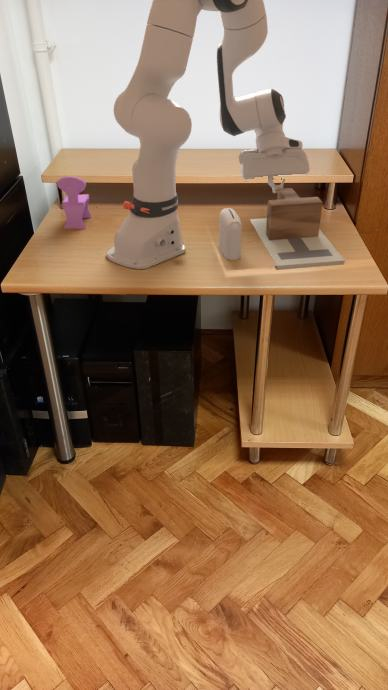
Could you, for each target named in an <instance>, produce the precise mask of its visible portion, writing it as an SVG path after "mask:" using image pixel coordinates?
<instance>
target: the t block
mask: <svg viewBox="0 0 388 690" xmlns="http://www.w3.org/2000/svg"><path fill="white" fill-rule="evenodd" d="M323 203H324V202H323V201H322V200H321V198H320V197H318V196H311V197H310V196H309V197H300V196H299V194H297V192H296V190H294V188H292V187H283V188H280V189H278V193H277V199H267V207H266V208H267V209H266V211H267V212H266V218H267V223H266V236H267V237H268V239H269V240H281V239H294V238H307V237H318V235H319V229H320V224H321V219H322V217H321V216H322V209H323Z"/></svg>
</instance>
